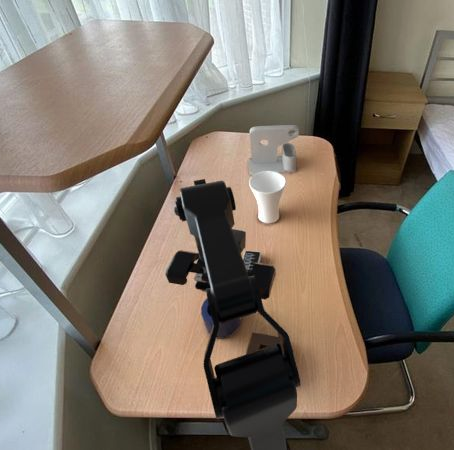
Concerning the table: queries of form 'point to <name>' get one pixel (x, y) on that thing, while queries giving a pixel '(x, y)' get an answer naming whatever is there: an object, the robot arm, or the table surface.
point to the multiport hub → (251, 258)
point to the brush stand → (261, 341)
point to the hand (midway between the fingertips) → (227, 298)
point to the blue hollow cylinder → (224, 328)
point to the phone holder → (272, 149)
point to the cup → (268, 194)
